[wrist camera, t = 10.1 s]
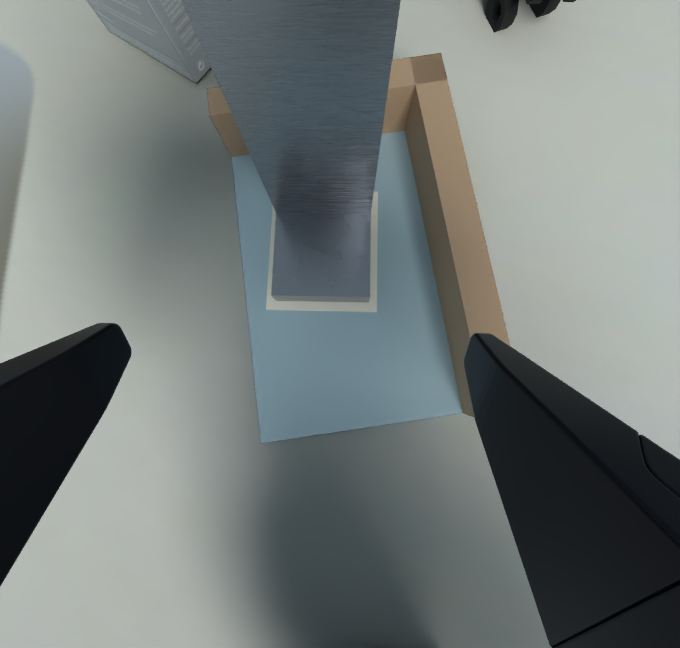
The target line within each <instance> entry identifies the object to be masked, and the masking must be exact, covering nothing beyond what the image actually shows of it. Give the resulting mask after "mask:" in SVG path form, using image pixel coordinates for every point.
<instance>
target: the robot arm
mask: <svg viewBox="0 0 680 648" xmlns="http://www.w3.org/2000/svg"><path fill="white" fill-rule="evenodd" d="M130 357H131V347H130V345H129V343H128V341H127V339H126V337H125V335H124V333H123V331H122V329H121V328H120V326H119V325H117V324H115V323H98V324H95V325H93V326H90V327H88V328H85V329H83V330H81V331H78V332H76V333H73V334H71V335H68V336H66V337H64V338H61V339H59V340H56V341H54V342H51V343H49V344H47V345H44V346H42V347H39V348H37V349H34V350H32V351H30V352H27V353H25V354H22V355H20V356H17V357H15V358H13V359H10V360H8V361H5V362H3V363H0V586H1V584H2V583H3V581H4V579H5V578H6V576H7V574H8V573H9V571H10V569H11V568H12V566H13V564H14V563H15V561H16V559H17V558H18V556H19V554H20V553H21V551H22V549H23V548H24V546H25V544H26V543H27V541H28V539H29V538H30V536H31V534H32V533H33V531H34V529H35V528H36V526H37V524H38V523H39V521H40V519H41V517H42V516H43V514H44V512H45V511H46V509H47V507H48V506H49V504H50V502H51V501H52V499H53V497H54V496H55V494H56V492H57V491H58V489H59V487H60V486H61V484H62V482H63V481H64V479H65V477H66V476H67V474H68V472H69V471H70V469H71V467H72V466H73V464H74V462H75V461H76V459H77V457H78V456H79V454H80V452H81V450H82V449H83V447H84V445H85V444H86V442H87V440H88V439H89V437H90V435H91V434H92V432H93V430H94V429H95V427H96V425H97V424H98V422H99V420H100V419H101V417H102V415H103V413H104V412H105V410H106V408H107V406H108V404H109V402H110V400H111V398H112V396H113V394H114V392H115V389H116V387H117V385H118V383H119V381H120V379H121V377H122V374H123V372H124V370H125V368H126V366H127V364H128V362H129V359H130ZM464 368H465V373H466V378H467V383H468V388H469V393H470V398H471V402H472V407H473V412H474V416H475V421H476V424H477V427H478V430H479V434H480V437H481V440H482V443H483V446H484V449H485V452H486V455H487V458H488V461H489V464H490V467H491V470H492V473H493V476H494V479H495V482H496V485H497V488H498V491H499V494H500V497H501V500H502V503H503V506H504V509H505V512H506V515H507V518H508V521H509V524H510V527H511V530H512V533H513V536H514V539H515V542H516V545H517V548H518V551H519V554H520V557H521V560H522V563H523V566H524V569H525V572H526V575H527V578H528V581H529V584H530V587H531V590H532V593H533V596H534V599H535V602H536V605H537V608H538V611H539V614H540V617H541V620H542V623H543V626H544V629H545V632H546V635H547V638H548V641H549V644H550V646H551V647H552V648H680V459H678V458H676V457H675V456H673V455H672V454H670V453H669V452H667V451H666V450H664V449H663V448H661V447H660V446H658V445H657V444H655V443H654V442H652V441H651V440H649V439H648V438H646V437H645V436H643V435H639V434H638V432H637V431H636V430H634V429H633V428H631V427H630V426H628V425H627V424H625V423H624V422H622V421H621V420H619V419H618V418H616V417H615V416H613V415H612V414H610V413H609V412H607V411H606V410H604V409H603V408H601V407H600V406H598V405H597V404H595V403H594V402H593V401H591V400H590V399H588V398H587V397H585V396H584V395H582V394H581V393H579V392H578V391H576V390H575V389H573V388H572V387H570V386H569V385H567V384H566V383H564V382H563V381H561V380H560V379H558V378H557V377H555V376H554V375H552V374H551V373H549V372H548V371H546V370H545V369H543V368H542V367H540V366H539V365H537V364H536V363H534V362H533V361H531V360H530V359H528V358H527V357H525V356H524V355H522V354H521V353H519V352H518V351H516V350H515V349H513V348H512V347H510V346H509V345H507V344H506V343H504V342H503V341H501V340H500V339H498V338H497V337H496V336H494V335H492V334H490V333H474V334H473V335H472V336H471V339H470V342H469V345H468V348H467V351H466V354H465V358H464Z"/></svg>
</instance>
